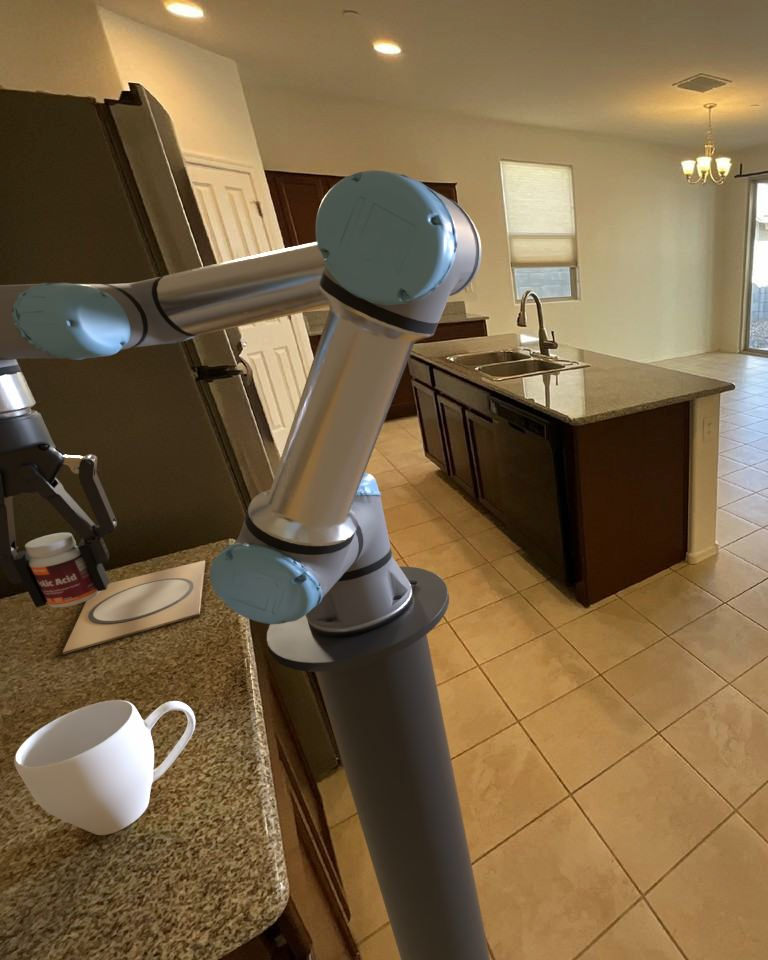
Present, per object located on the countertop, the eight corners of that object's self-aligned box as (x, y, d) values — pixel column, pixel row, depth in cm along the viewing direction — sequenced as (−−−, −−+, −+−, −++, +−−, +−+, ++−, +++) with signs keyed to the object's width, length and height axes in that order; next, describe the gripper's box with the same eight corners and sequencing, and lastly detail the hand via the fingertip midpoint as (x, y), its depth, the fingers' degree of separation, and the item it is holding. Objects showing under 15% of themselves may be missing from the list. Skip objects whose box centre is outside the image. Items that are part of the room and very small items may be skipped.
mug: (67, 875, 48) (12, 787, 44) (60, 819, 53) (11, 735, 49) (224, 786, 57) (190, 704, 52) (206, 744, 62) (174, 667, 58)
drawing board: (205, 561, 103) (204, 559, 102) (199, 615, 86) (198, 612, 86) (93, 589, 94) (92, 586, 94) (63, 654, 77) (61, 651, 77)
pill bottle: (41, 613, 63) (9, 552, 60) (61, 593, 67) (32, 535, 64) (92, 602, 65) (64, 543, 62) (108, 584, 69) (83, 527, 66)
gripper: (-163, 436, 50) (-44, 636, 58) (93, 408, 60) (163, 581, 68) (-125, 421, 56) (-22, 605, 64) (104, 398, 66) (167, 559, 74)
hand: (74, 593), depth 66 cm, fingers closed on pill bottle, 5 cm apart
